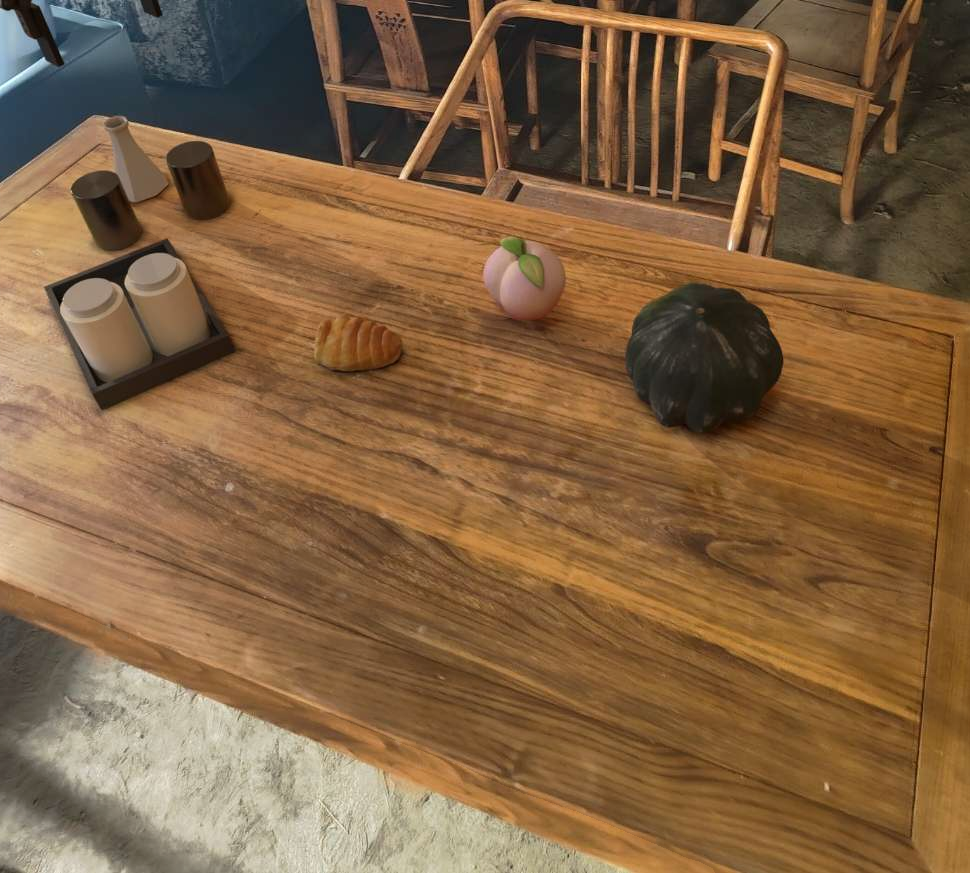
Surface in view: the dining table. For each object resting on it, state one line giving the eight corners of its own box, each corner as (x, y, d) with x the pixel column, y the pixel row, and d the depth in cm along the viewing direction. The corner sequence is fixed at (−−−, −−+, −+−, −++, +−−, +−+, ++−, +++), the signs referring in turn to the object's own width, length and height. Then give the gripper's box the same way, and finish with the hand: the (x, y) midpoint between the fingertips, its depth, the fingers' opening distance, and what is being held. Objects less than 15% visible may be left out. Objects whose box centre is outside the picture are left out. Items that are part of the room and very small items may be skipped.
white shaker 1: (87, 357, 105) (49, 289, 98) (142, 333, 107) (109, 265, 99) (103, 392, 101) (64, 324, 94) (160, 367, 103) (127, 298, 96)
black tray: (52, 303, 113) (43, 286, 111) (174, 254, 117) (167, 237, 115) (101, 410, 100) (92, 394, 98) (235, 351, 105) (229, 334, 103)
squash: (741, 283, 97) (671, 228, 86) (834, 375, 89) (769, 328, 78) (648, 379, 102) (570, 339, 91) (727, 476, 94) (651, 444, 83)
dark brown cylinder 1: (90, 233, 122) (64, 181, 116) (134, 216, 123) (111, 164, 117) (103, 257, 118) (77, 204, 112) (148, 239, 120) (125, 186, 114)
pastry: (408, 334, 104) (403, 309, 101) (396, 378, 100) (390, 353, 97) (328, 330, 106) (321, 305, 103) (312, 373, 101) (305, 348, 99)
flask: (134, 209, 124) (106, 143, 117) (105, 191, 128) (76, 125, 120) (178, 184, 128) (153, 118, 120) (149, 166, 131) (123, 101, 124)
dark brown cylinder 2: (179, 204, 125) (159, 151, 118) (221, 188, 126) (203, 135, 120) (194, 225, 121) (174, 173, 115) (237, 209, 123) (219, 156, 117)
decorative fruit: (582, 319, 104) (583, 247, 96) (523, 352, 101) (519, 280, 94) (532, 277, 109) (529, 206, 102) (475, 307, 106) (467, 236, 99)
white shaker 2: (146, 332, 107) (113, 264, 100) (200, 309, 109) (171, 241, 101) (164, 365, 103) (131, 297, 96) (219, 341, 105) (191, 272, 98)
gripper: (-77, -125, 83) (29, 94, 99) (148, -206, 95) (210, 2, 111) (-115, -139, 87) (-7, 75, 103) (106, -215, 98) (172, -12, 114)
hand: (106, 37), depth 107 cm, fingers open, 13 cm apart
